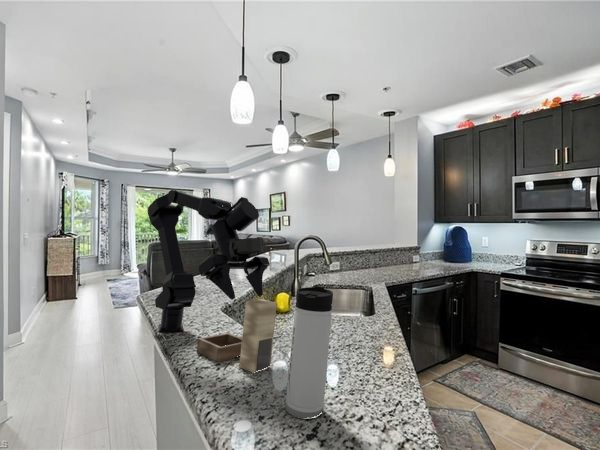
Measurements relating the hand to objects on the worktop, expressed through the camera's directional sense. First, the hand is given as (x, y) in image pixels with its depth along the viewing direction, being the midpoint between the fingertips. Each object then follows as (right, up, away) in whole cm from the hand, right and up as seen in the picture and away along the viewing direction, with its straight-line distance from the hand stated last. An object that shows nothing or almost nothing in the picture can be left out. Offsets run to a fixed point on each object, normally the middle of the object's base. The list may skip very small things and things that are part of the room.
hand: (247, 297), depth 76 cm
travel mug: (+13, -14, -23) cm, 29 cm away
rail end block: (+3, -14, -7) cm, 15 cm away
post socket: (-6, -13, 0) cm, 14 cm away
